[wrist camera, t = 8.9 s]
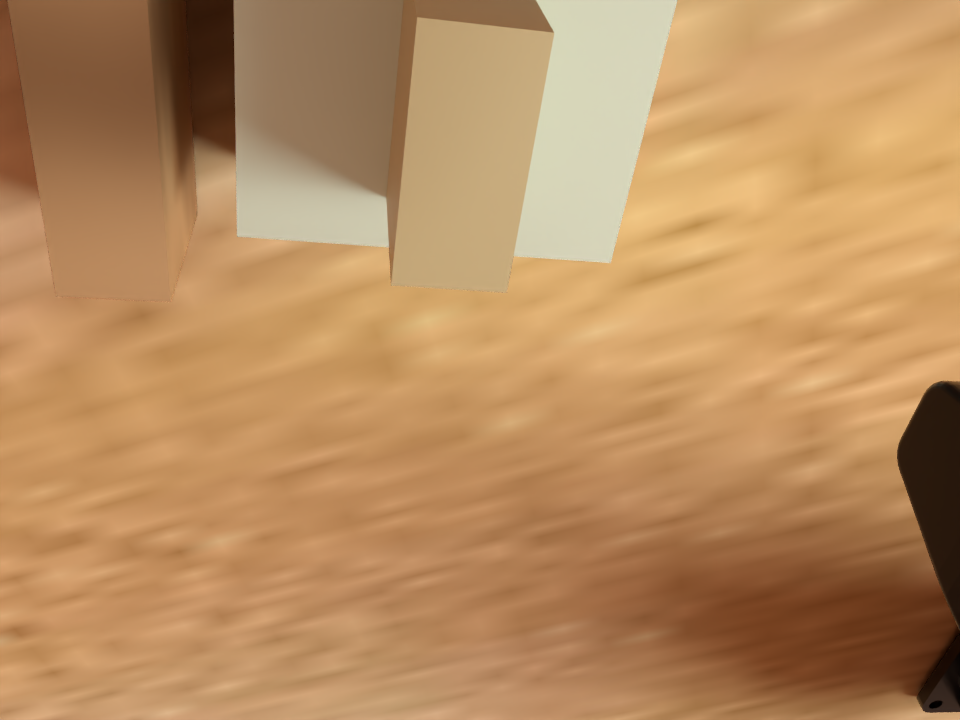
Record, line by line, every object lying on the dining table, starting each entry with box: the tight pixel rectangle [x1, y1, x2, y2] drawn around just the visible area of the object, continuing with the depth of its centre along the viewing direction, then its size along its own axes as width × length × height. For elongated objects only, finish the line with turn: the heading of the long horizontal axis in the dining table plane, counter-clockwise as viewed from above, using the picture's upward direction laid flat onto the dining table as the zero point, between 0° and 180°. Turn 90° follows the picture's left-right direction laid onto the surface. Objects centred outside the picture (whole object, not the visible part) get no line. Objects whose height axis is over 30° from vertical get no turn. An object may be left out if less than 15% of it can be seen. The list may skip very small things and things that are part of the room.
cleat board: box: [7, 0, 197, 302], centre depth 16 cm, size 10×22×4 cm, turn 83°
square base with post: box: [234, 0, 677, 293], centre depth 16 cm, size 6×7×6 cm
